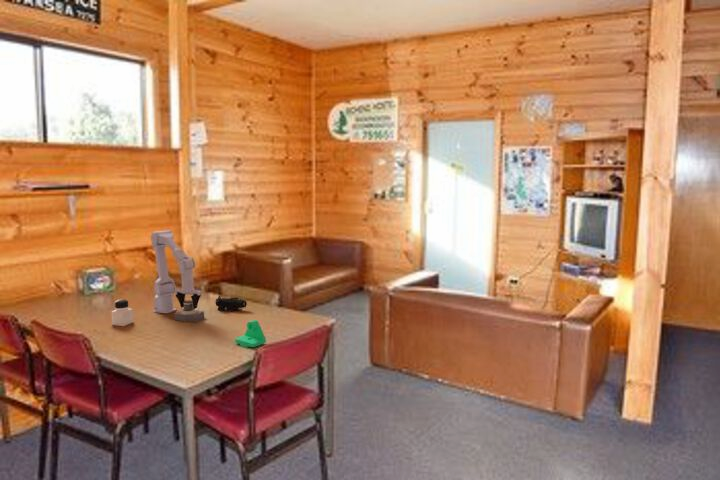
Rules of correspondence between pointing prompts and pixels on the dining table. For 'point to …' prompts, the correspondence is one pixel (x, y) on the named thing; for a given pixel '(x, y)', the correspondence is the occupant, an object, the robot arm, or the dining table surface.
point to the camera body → (189, 315)
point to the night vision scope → (230, 303)
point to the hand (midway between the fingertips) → (189, 307)
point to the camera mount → (252, 335)
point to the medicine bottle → (122, 313)
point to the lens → (188, 305)
